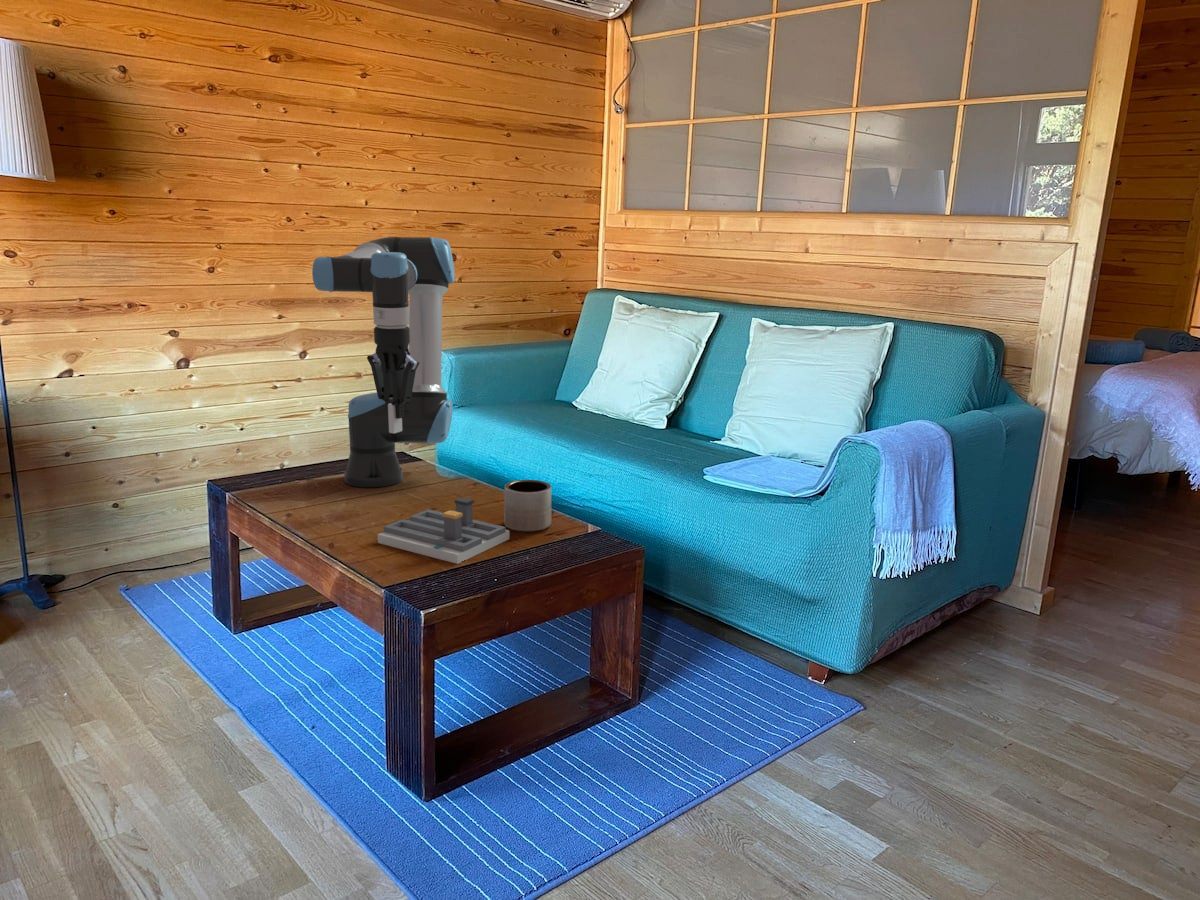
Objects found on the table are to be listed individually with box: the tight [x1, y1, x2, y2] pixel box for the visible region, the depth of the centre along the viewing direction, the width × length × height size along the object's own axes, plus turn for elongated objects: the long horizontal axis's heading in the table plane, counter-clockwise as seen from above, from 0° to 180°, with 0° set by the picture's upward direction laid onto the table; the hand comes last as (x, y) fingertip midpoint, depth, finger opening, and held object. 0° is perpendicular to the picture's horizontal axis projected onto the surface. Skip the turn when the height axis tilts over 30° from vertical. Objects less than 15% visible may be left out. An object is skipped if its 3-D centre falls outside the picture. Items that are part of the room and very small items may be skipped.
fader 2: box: [454, 497, 475, 528], centre depth 200 cm, size 2×4×6 cm, turn 59°
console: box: [377, 508, 510, 564], centre depth 198 cm, size 18×22×3 cm
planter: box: [503, 479, 552, 533], centre depth 209 cm, size 11×11×10 cm
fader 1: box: [442, 510, 464, 543], centre depth 191 cm, size 2×4×6 cm, turn 59°
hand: (395, 431), depth 201 cm, fingers closed
